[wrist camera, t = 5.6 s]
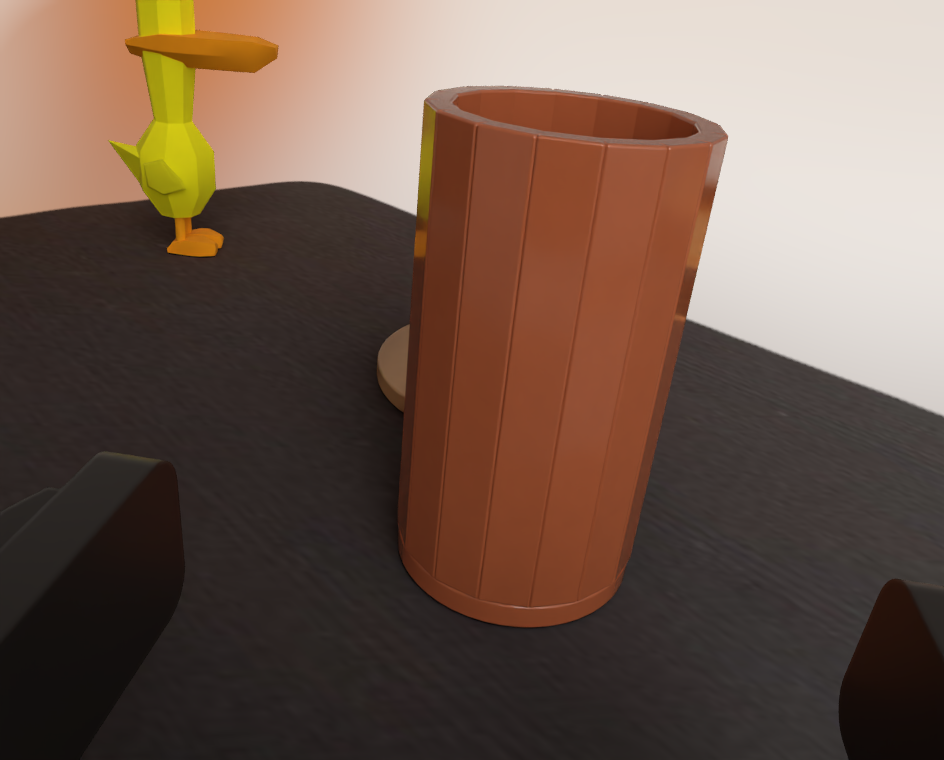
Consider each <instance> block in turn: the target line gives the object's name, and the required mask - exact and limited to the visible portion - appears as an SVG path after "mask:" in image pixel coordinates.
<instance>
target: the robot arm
mask: <svg viewBox="0 0 944 760" xmlns="http://www.w3.org/2000/svg"><path fill="white" fill-rule="evenodd" d="M184 573H185V561H184V550H183V539H182V528H181V516H180V505H179V494H178V483H177V475H176V471H175V469H174V467H173V465H172V464H171V463H170V462H168V461H164V460H158V459H152V458H145V457H139V456H133V455H126V454H120V453H114V452H107V451H104V452H100V453H99V454H97V455H95V456H94V457H93V458H92V459H91V460H90V461H89V462H88V463H87V464H86V465H85V466H84V467H83V468H82V469H81V470H80V471H79V472H78V473H76V474H75V475H74V476H73V477H72V478H71V479H70V480H69V481H68V482H67V483H66V484H65V485H64V486H63V487H62V488H61V489H57V488H51V487H47V488H45V489H43V490H41V491H39V492H37V493H35V494H33V495H31V496H30V497H28V498H26V499H24V500H22V501H20V502H18V503H16V504H14V505H12V506H10V507H8V508H6V509H4V510H2V511H1V512H0V760H79V759H80V758H81V756H82V754H83V753H84V751H85V750H86V748H87V747H88V745H89V744H90V742H91V741H92V739H93V738H94V736H95V734H96V733H97V731H98V730H99V728H100V727H101V725H102V724H103V722H104V721H105V719H106V718H107V716H108V714H109V713H110V711H111V710H112V708H113V707H114V705H115V704H116V702H117V701H118V699H119V698H120V696H121V695H122V693H123V691H124V690H125V688H126V687H127V685H128V684H129V682H130V681H131V679H132V678H133V676H134V675H135V673H136V671H137V670H138V668H139V667H140V665H141V664H142V662H143V661H144V659H145V658H146V656H147V655H148V653H149V651H150V650H151V648H152V647H153V645H154V644H155V642H156V641H157V639H158V638H159V636H160V635H161V633H162V632H163V630H164V628H165V627H166V625H167V624H168V622H169V621H170V619H171V617H172V615H173V613H174V611H175V609H176V607H177V604H178V601H179V598H180V595H181V591H182V587H183V582H184ZM839 724H840V731H841V736H842V740H843V743H844V746H845V749H846V753H847V756H848V759H849V760H944V586H939V585H933V584H926V583H920V582H914V581H908V580H901V579H892V580H890V581H888V582H887V583H886V584H885V585H884V587H883V588H882V590H881V592H880V594H879V596H878V598H877V600H876V603H875V605H874V607H873V610H872V612H871V615H870V617H869V619H868V622H867V624H866V626H865V629H864V631H863V633H862V636H861V638H860V640H859V643H858V645H857V648H856V650H855V652H854V655H853V657H852V659H851V662H850V664H849V666H848V669H847V671H846V673H845V676H844V679H843V682H842V686H841V690H840V697H839Z"/></svg>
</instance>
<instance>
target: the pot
mask: <svg viewBox="0 0 944 760" xmlns="http://www.w3.org/2000/svg"><path fill="white" fill-rule="evenodd" d="M421 141H422V142H421V156H420V173H419V187H418V204H417V218H416V234H415V249H414V265H413V281H412V296H411V312H410V328H409V343H408V359H407V374H406V390H405V406H404V421H403V437H402V453H401V468H400V484H399V499H398V515H397V522H398V525H399V529H398V548H399V553H400V556H401V559H402V562H403V564H404V566H405V568H406V570H407V571H408V573H409V575H410V576H411V577H412V579H413V580H414V581H415V582H416V583H417V585H418V586H419V587H420V588H422V589H423V590H424V591H425V592H426V593H427V594H428V595H429V596H431V597H432V598H434V599H435V600H436V601H438V602H439V603H441V604H443V605H444V606H446V607H448V608H450V609H452V610H453V611H456V612H458V613H460V614H463V615H465V616H467V617H470V618H474V619H477V620H480V621H483V622H487V623H492V624H497V625H502V626H511V627H528V628H535V627H548V626H554V625H560V624H565V623H568V622H571V621H575V620H578V619H580V618H582V617H585V616H587V615H589V614H591V613H593V612H594V611H596V610H597V609H599V608H600V607H602V606H603V605H604V604H605V603H606V602H607V601H609V600H610V599H611V598H612V596H613V595H614V594H615V592H616V591H617V590H618V588H619V586H620V584H621V582H622V580H623V576H624V572H625V568H626V564H627V562H628V560H629V558H630V555H631V551H632V547H633V543H634V538H635V534H636V530H637V526H638V521H639V517H640V513H641V509H642V504H643V500H644V496H645V491H646V487H647V483H648V479H649V474H650V470H651V466H652V461H653V457H654V453H655V449H656V444H657V440H658V436H659V432H660V427H661V423H662V419H663V414H664V410H665V406H666V402H667V397H668V393H669V389H670V384H671V380H672V376H673V372H674V367H675V363H676V359H677V355H678V350H679V346H680V342H681V337H682V333H683V329H684V325H685V320H686V316H687V311H688V307H689V303H690V299H691V295H692V290H693V286H694V282H695V278H696V273H697V269H698V265H699V260H700V256H701V252H702V247H703V243H704V239H705V235H706V231H707V226H708V222H709V217H710V213H711V209H712V204H713V200H714V196H715V192H716V188H717V183H718V179H719V175H720V171H721V166H722V162H723V158H724V154H725V149H726V144H727V141H728V135H727V134H726V133H725V131H724V130H723V129H722V127H721V126H720V125H718V124H716V123H714V122H711V121H709V120H706V119H704V118H701V117H699V116H696V115H694V114H691V113H688V112H684V111H680V110H676V109H672V108H668V107H664V106H660V105H656V104H651V103H648V102H642V101H636V100H630V99H625V98H619V97H613V96H608V95H603V96H602V95H600V94H593V93H585V92H575V91H568V90H559V89H554V90H552V89H549V88H533V87H516V86H515V87H514V86H467V87H457V88H451V89H444V90H438V91H435V92H433V93H432V94H431V95H429V96H428V97H427V98H426V99H425V100H424V109H423V125H422V140H421Z"/></svg>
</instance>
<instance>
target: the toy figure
mask: <svg viewBox="0 0 944 760" xmlns="http://www.w3.org/2000/svg"><path fill="white" fill-rule="evenodd" d="M136 11H137V22H138V34H139V36H135V37H132V38H129V39H125V44H126V46H127V48H128V50H129V52H130V53H131V54H134V55H137V56H140V57H142V62H143V66H144V72H145V76H146V82H147V86H148V91H149V96H150V101H151V106H152V111H153V116H154V119H153V120H152V122H151V123H150V125H149V127H148V128H147V129H146V131H145V132H144V134H143V135H142V137H141V138H140V140H139V141H138V143H137V145H136V146H132V145H127V144H122V143H118V142H114V141H109V142H110V143H111V145H112V146H113V147H114V149H115V150H116V152H117V153H118V154H119V155H120V157H121V158H122V160H123V161H124V162H125V164H126V165H127V166H128V168H129V169H130V171H131V172H132V173H133V174H134V176H135V177H136V178H137V180H138V181H139V183H140V185H141V187H142V189H143V191H144V193H145V194H146V195H147V197H148V198H149V199H150V201H151V202H152V203H153V205H154V206H155V207H156V209H157V210H158V211H159V213H160V214H161V215H162V216H167V217H172V218H175V229H176V239H175V240H174V241H173V242H172V243H171V244H170V246H169V247H168V248H167V252H168V253H174V254H181V255H188V256H198V257H203V256H215V255H216V253H217V251H218V248H221V247H222V245H223V239H224V237H223V236H222V235H221V234H219V233H217V232H215V231H213V230H211V229H209V228H199V229H194V230H192V225H191V217H193V216H196V215H198V214H200V213H201V211H202V210H203V208H204V207H205V205H206V203H207V202H208V200H209V199H210V197H211V195H212V194H213V192H214V191H215V189H216V184H215V165H214V151H213V150H212V148H211V147H210V146H209V144H208V143H207V141H206V140H205V139H204V137H203V136H202V135H201V133H200V132H199V130H198V129H197V128H196V126H195V125H194V123H193V122H192V115H193V99H194V83H195V68H198V69H211V70H223V71H235V72H249V73H255V72H257V71H258V70H260V69H261V68H263V67H264V66H266V65H267V64H269V63H270V62H272V61H274V60H275V59H277V55H278V45H276V44H273V43H271V42H268V41H266V40H264V39H261V38H259V37H253V36H245V35H236V34H228V33H219V32H210V31H200V30H195V22H194V5H193V0H136Z"/></svg>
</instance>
